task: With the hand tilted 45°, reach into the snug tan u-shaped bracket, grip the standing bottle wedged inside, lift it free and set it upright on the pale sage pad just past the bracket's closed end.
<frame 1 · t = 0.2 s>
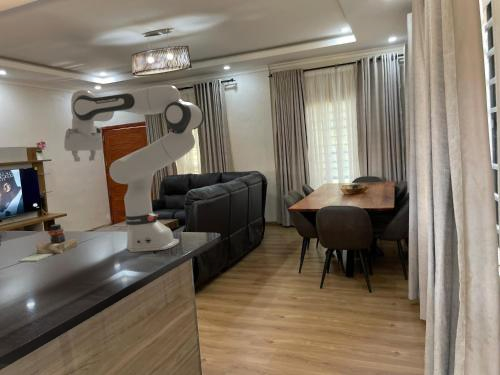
hand: (84, 161, 170), 39 cm above the counter, tool pointing down, fingers open, 8 cm apart
sage pad: (36, 258, 164), on the counter
tan u-shaped bracket: (59, 249, 177), on the counter
supplement bottle: (59, 249, 177), on the counter
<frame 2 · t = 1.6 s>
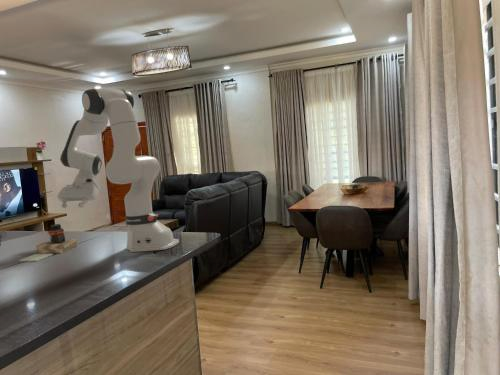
hand: (71, 207, 187), 17 cm above the counter, tool tilted 45°, fingers open, 8 cm apart
nothing on the counter moved.
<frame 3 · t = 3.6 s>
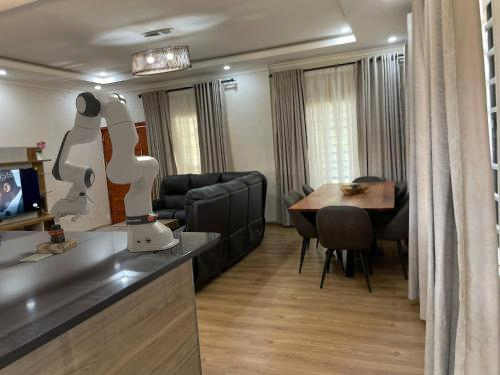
hand: (64, 221, 181), 11 cm above the counter, tool tilted 45°, fingers open, 8 cm apart
nothing on the counter moved.
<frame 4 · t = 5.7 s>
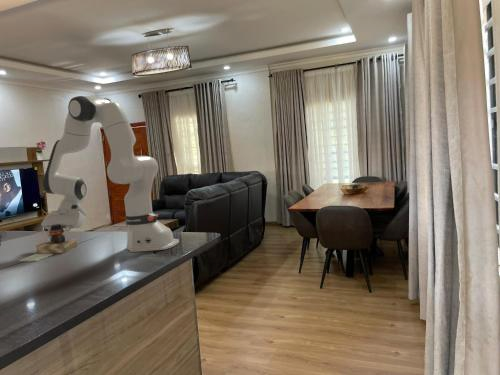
hand: (56, 235, 176), 6 cm above the counter, tool tilted 45°, fingers closed on supplement bottle, 6 cm apart
supplement bottle: (59, 249, 177), on the counter, touching gripper
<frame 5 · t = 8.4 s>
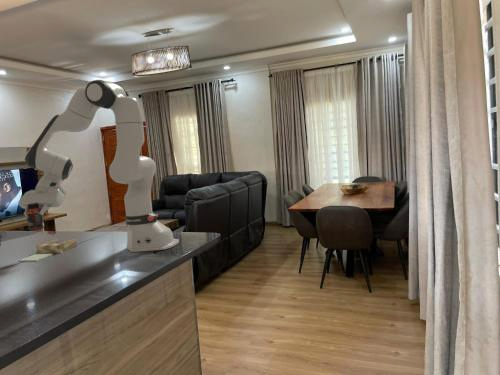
hand: (33, 214, 164), 18 cm above the counter, tool tilted 45°, fingers closed on supplement bottle, 6 cm apart
supplement bottle: (36, 230, 165), point 12 cm above the counter, touching gripper
when the fingers open (8 cm above the counter, at t = 11.0 s): supplement bottle drops 1 cm, resting on sage pad.
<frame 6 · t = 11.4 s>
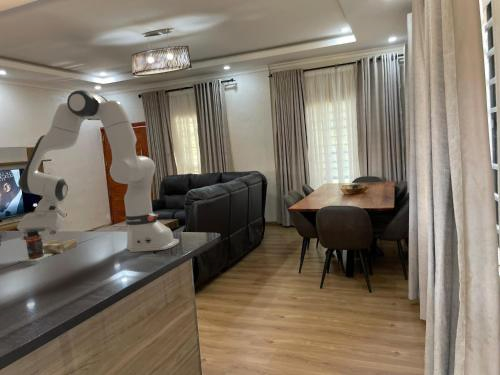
hand: (32, 239, 162), 8 cm above the counter, tool tilted 45°, fingers open, 8 cm apart
supplement bottle: (36, 257, 164), resting on sage pad
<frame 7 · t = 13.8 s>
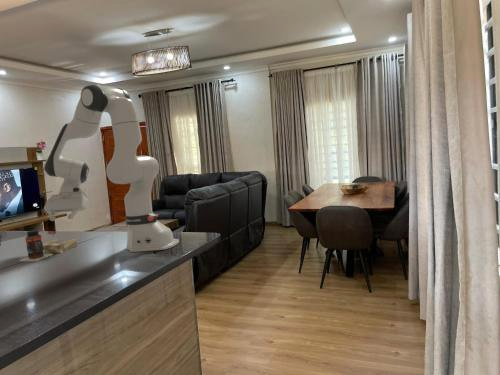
hand: (61, 219, 177), 13 cm above the counter, tool tilted 40°, fingers open, 8 cm apart
nothing on the counter moved.
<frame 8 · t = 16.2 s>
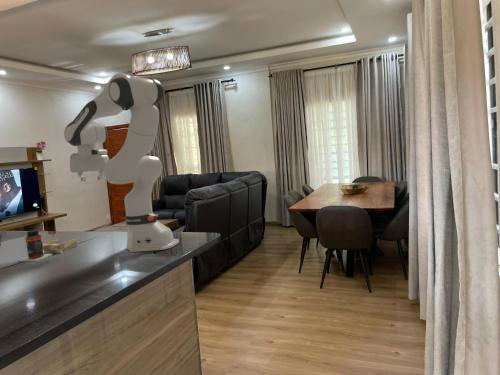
hand: (91, 180, 186), 29 cm above the counter, tool pointing down, fingers open, 8 cm apart
nothing on the counter moved.
at the end: supplement bottle inside the target area (0.2 cm from its centre), resting on sage pad; supplement bottle tilted 0°; the gripper is holding nothing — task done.
